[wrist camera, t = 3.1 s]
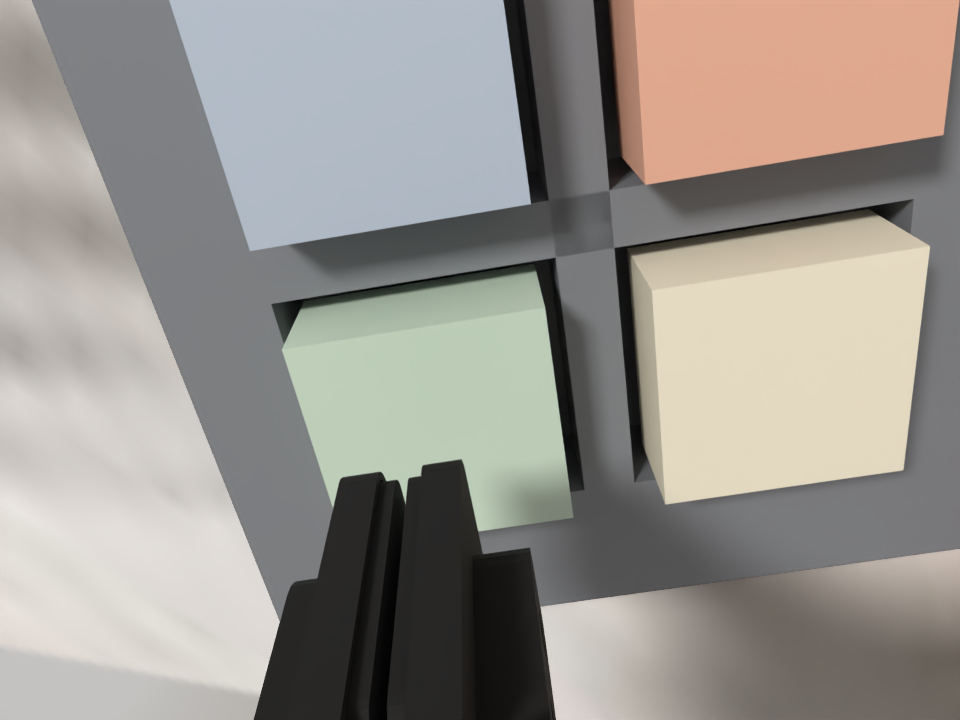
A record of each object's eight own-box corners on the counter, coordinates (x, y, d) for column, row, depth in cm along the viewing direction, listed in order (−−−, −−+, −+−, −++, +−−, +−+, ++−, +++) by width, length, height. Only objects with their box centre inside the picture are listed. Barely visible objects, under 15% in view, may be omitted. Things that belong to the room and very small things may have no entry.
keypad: (898, 464, 19) (970, 547, 16) (311, 549, 20) (287, 641, 17) (1008, -483, 11) (1183, -628, 8) (21, -277, 12) (-107, -346, 9)
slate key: (521, 170, 13) (531, 204, 11) (278, 212, 13) (250, 251, 11) (480, -120, 11) (484, -137, 9) (195, -66, 11) (146, -72, 9)
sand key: (852, 411, 15) (903, 470, 14) (642, 443, 16) (664, 504, 14) (867, 209, 13) (930, 245, 12) (626, 248, 14) (652, 290, 12)
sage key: (560, 455, 16) (573, 517, 14) (359, 485, 16) (346, 550, 14) (534, 263, 14) (544, 307, 12) (304, 300, 14) (281, 349, 12)
